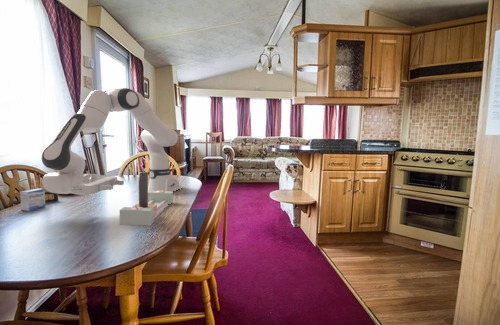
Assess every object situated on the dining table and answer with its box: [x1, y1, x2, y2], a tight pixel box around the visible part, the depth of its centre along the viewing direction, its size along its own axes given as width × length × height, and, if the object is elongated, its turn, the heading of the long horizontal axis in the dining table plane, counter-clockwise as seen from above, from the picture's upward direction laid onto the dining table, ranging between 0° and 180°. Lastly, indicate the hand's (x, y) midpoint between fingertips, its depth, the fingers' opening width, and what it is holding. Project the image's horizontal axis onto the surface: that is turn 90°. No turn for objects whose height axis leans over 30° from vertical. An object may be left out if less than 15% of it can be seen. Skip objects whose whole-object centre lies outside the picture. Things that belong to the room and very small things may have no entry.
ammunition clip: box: [30, 178, 59, 203], centre depth 131 cm, size 11×2×12 cm, turn 120°
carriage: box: [132, 171, 157, 211], centre depth 112 cm, size 8×9×17 cm
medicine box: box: [19, 188, 46, 212], centre depth 121 cm, size 8×4×9 cm, turn 168°
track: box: [119, 191, 174, 226], centre depth 121 cm, size 34×12×6 cm, turn 1°
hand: (118, 185), depth 112 cm, fingers open, 8 cm apart
